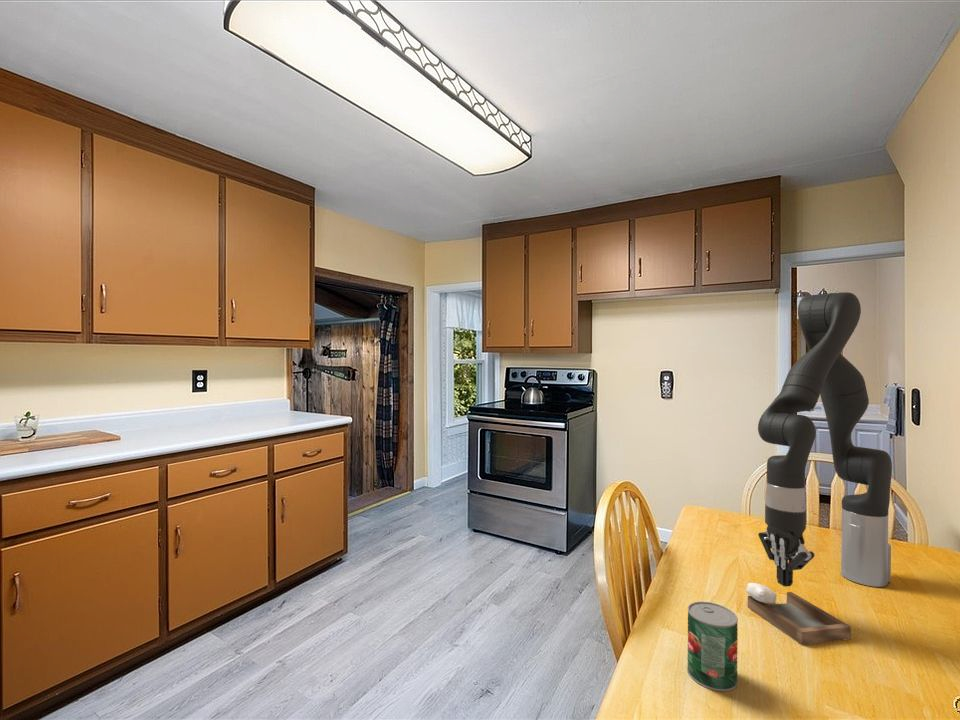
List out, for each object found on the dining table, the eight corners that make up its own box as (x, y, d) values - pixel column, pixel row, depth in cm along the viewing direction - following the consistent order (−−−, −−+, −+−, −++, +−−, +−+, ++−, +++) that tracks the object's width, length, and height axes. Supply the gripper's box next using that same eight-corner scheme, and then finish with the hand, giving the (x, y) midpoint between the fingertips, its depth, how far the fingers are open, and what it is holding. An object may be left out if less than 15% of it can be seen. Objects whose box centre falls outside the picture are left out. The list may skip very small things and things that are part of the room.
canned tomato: (747, 690, 79) (748, 624, 79) (702, 692, 78) (703, 626, 78) (720, 660, 87) (720, 600, 87) (678, 662, 86) (679, 602, 86)
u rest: (791, 602, 108) (791, 591, 108) (850, 639, 94) (851, 626, 94) (747, 607, 106) (747, 596, 106) (801, 645, 92) (802, 632, 92)
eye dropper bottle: (763, 610, 107) (765, 612, 98) (742, 588, 111) (742, 587, 101) (778, 598, 107) (781, 599, 97) (757, 576, 110) (758, 574, 101)
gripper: (827, 514, 97) (826, 598, 97) (775, 495, 110) (774, 570, 110) (796, 516, 96) (795, 601, 96) (747, 497, 109) (746, 572, 109)
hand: (784, 584), depth 103 cm, fingers closed
